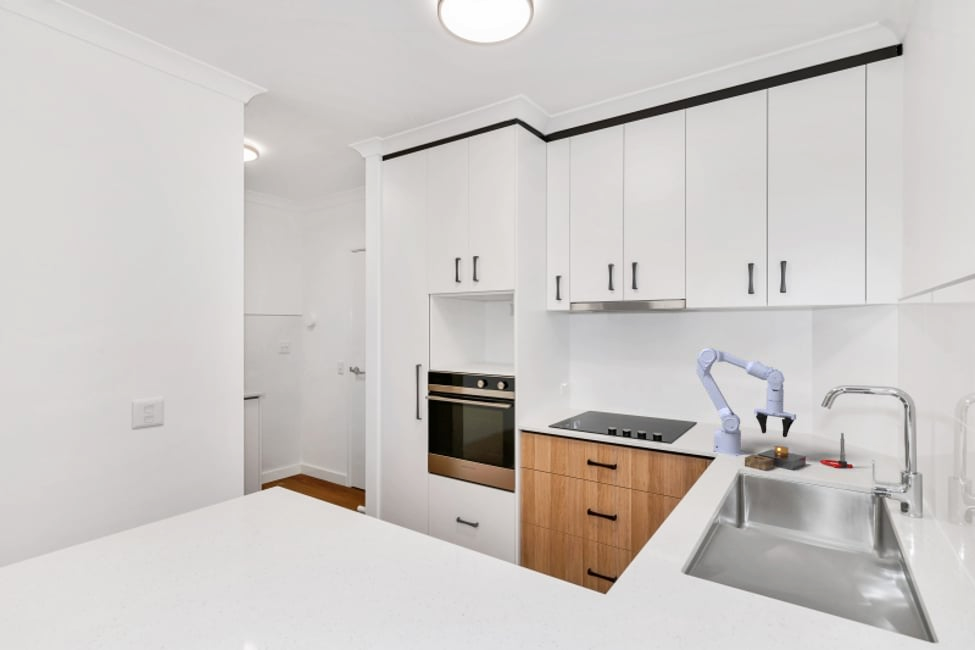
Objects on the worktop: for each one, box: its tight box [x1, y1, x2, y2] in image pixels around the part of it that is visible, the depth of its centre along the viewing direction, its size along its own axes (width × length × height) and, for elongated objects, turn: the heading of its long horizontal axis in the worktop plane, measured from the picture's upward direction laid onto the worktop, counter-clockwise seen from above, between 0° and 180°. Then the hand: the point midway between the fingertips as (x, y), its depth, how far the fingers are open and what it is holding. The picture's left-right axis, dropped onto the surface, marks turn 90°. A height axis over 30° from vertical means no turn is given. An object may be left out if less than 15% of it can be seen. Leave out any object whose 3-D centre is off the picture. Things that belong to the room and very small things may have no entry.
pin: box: [773, 445, 789, 457], centre depth 180 cm, size 4×4×6 cm
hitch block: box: [756, 449, 807, 471], centre depth 180 cm, size 12×12×4 cm
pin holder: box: [744, 454, 774, 472], centre depth 176 cm, size 7×7×4 cm
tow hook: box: [820, 432, 854, 469], centre depth 181 cm, size 8×13×9 cm
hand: (774, 434), depth 188 cm, fingers open, 7 cm apart
